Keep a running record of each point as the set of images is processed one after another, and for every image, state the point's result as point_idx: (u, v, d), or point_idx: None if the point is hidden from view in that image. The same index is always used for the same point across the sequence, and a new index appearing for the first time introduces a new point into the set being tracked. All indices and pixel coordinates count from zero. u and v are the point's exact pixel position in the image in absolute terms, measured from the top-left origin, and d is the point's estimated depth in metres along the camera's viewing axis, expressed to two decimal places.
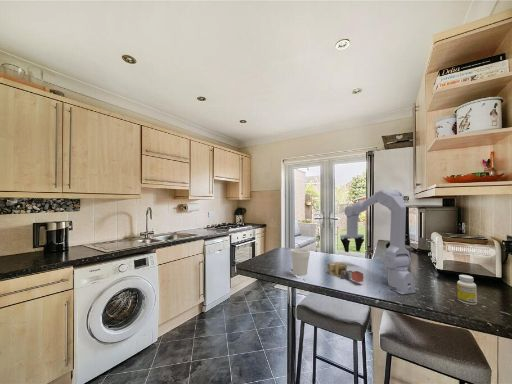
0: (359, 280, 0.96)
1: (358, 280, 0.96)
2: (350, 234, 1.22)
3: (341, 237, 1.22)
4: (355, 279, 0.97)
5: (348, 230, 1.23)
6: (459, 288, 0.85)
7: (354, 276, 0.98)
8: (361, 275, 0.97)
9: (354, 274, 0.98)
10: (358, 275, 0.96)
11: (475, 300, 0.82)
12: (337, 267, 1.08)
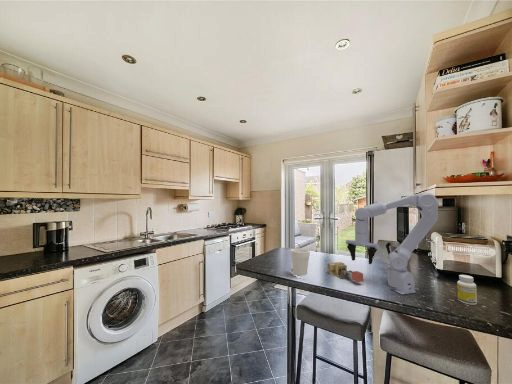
0: (359, 280, 0.96)
1: (358, 280, 0.96)
2: (355, 240, 1.04)
3: None
4: (355, 279, 0.97)
5: None
6: (459, 288, 0.85)
7: (354, 276, 0.98)
8: (361, 275, 0.97)
9: (354, 274, 0.98)
10: (358, 275, 0.96)
11: (475, 300, 0.82)
12: (337, 267, 1.08)
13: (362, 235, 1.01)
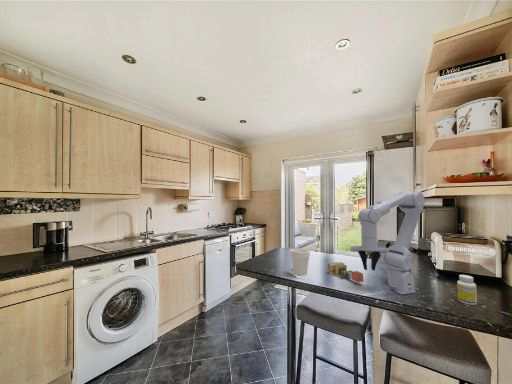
0: (359, 280, 0.96)
1: (358, 280, 0.96)
2: (363, 246, 0.91)
3: (350, 249, 0.94)
4: (355, 279, 0.97)
5: (362, 240, 0.93)
6: (459, 288, 0.85)
7: (354, 276, 0.98)
8: (361, 275, 0.97)
9: (354, 274, 0.98)
10: (358, 275, 0.96)
11: (475, 300, 0.82)
12: (337, 267, 1.08)
13: (374, 240, 0.90)
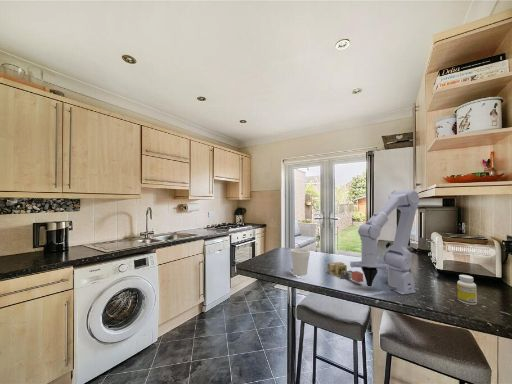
0: (359, 280, 0.96)
1: (358, 280, 0.96)
2: (363, 262, 0.91)
3: (350, 264, 0.93)
4: (355, 279, 0.97)
5: (362, 256, 0.92)
6: (459, 288, 0.85)
7: (354, 276, 0.98)
8: (361, 275, 0.97)
9: (354, 274, 0.98)
10: (358, 275, 0.96)
11: (475, 300, 0.82)
12: (337, 267, 1.08)
13: (374, 256, 0.89)
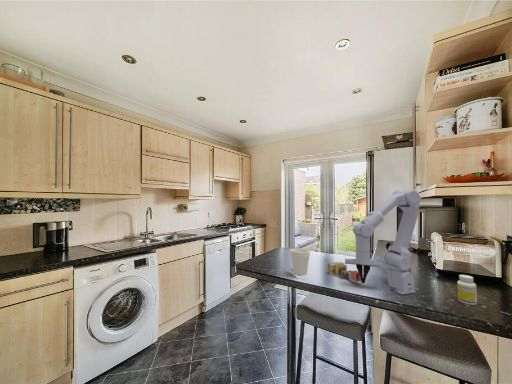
0: (358, 280, 0.97)
1: (357, 279, 0.97)
2: (356, 259, 0.95)
3: (345, 261, 0.98)
4: (354, 278, 0.98)
5: None
6: (459, 288, 0.85)
7: (353, 275, 0.98)
8: None
9: (353, 273, 0.98)
10: (357, 274, 0.97)
11: (475, 300, 0.82)
12: (337, 267, 1.08)
13: (366, 254, 0.93)
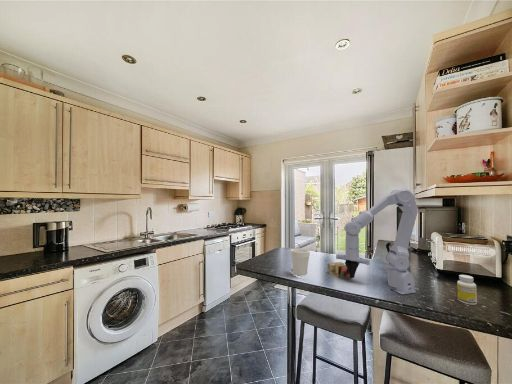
0: (347, 275, 1.03)
1: (347, 275, 1.03)
2: (345, 255, 1.02)
3: None
4: (344, 274, 1.04)
5: None
6: (459, 288, 0.85)
7: (343, 271, 1.05)
8: None
9: (343, 269, 1.05)
10: (347, 270, 1.03)
11: (475, 300, 0.82)
12: (337, 267, 1.08)
13: (353, 250, 0.99)
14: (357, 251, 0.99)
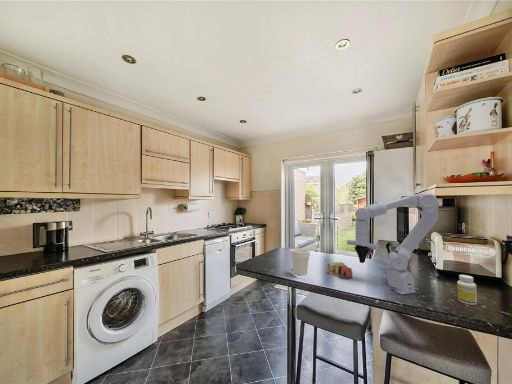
0: (347, 275, 1.03)
1: (347, 275, 1.03)
2: None
3: None
4: (344, 274, 1.04)
5: None
6: (459, 288, 0.85)
7: (343, 271, 1.05)
8: (350, 270, 1.03)
9: (343, 269, 1.05)
10: (347, 270, 1.03)
11: (475, 300, 0.82)
12: (337, 267, 1.08)
13: (362, 235, 1.01)
14: (366, 236, 1.00)
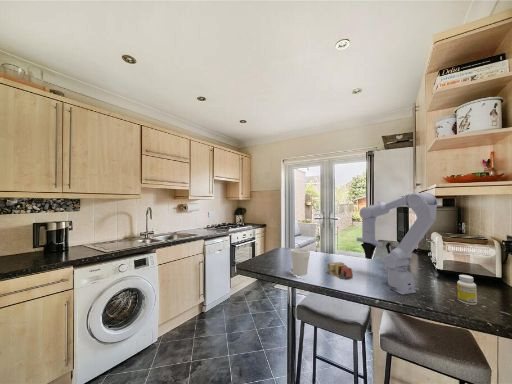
0: (347, 275, 1.03)
1: (347, 275, 1.03)
2: None
3: None
4: (344, 274, 1.04)
5: None
6: (459, 288, 0.85)
7: (343, 271, 1.05)
8: (350, 270, 1.03)
9: (343, 269, 1.05)
10: (347, 270, 1.03)
11: (475, 300, 0.82)
12: (337, 267, 1.08)
13: (366, 233, 1.08)
14: (371, 234, 1.07)
